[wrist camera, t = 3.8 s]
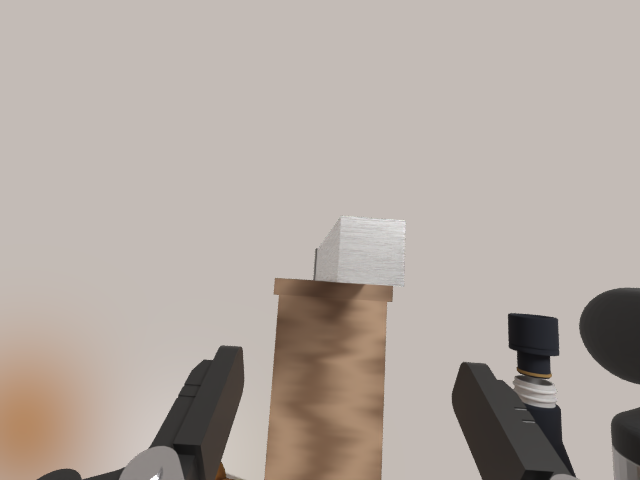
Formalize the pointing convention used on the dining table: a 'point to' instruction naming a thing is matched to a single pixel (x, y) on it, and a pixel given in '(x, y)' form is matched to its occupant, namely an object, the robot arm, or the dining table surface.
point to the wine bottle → (538, 374)
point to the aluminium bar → (362, 252)
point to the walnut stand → (327, 381)
